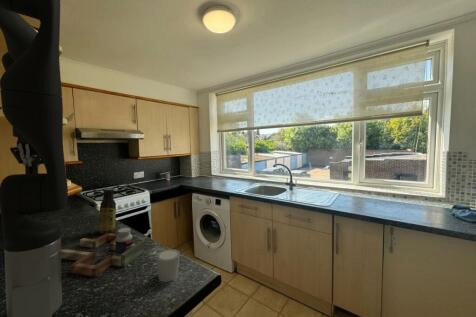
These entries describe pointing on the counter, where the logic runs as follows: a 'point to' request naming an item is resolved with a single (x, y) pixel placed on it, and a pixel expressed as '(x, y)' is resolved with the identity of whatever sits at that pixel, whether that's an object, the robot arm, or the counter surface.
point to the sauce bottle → (107, 212)
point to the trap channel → (86, 257)
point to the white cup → (168, 264)
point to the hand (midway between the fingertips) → (32, 177)
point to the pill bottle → (123, 241)
